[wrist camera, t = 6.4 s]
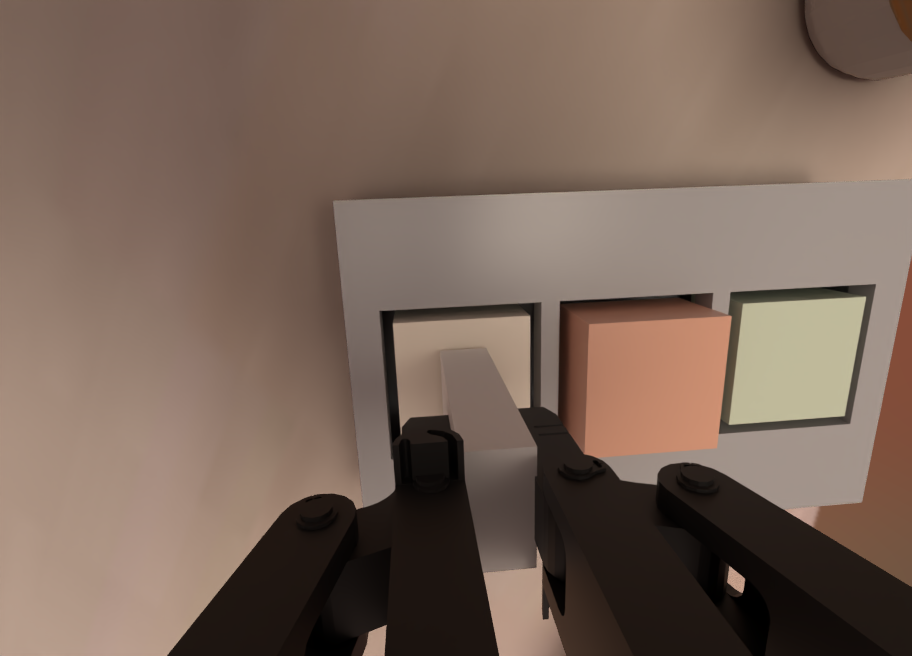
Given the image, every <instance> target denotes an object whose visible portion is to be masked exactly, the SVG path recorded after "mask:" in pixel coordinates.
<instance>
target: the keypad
mask: <svg viewBox="0 0 912 656" xmlns="http://www.w3.org/2000/svg"><path fill="white" fill-rule="evenodd" d="M333 208H334V218H335V228H336V238H337V248H338V259H339V269H340V279H341V289H342V299H343V309H344V319H345V329H346V340H347V350H348V360H349V370H350V380H351V390H352V400H353V410H354V421H355V431H356V441H357V451H358V461H359V471H360V481H361V492H362V502H363V508H364V507H367V506H370V505H373V504H375V503H378V502H380V501H382V500H383V499H385V498H387V497H388V496H389V495H390V494H392V493H393V492H394V490H395V476H394V463H393V450H392V445H393V443H394V441H395V439H396V438H397V437H399V436H400V435H401V430H400V416H399V402H398V388H397V375H396V361H395V347H394V333H393V320H394V314H395V310H407V309H425V308H444V307H462V306H481V305H499V304H518V305H519V306H520V307H521V308H523V309H524V310H525V311H526V312H527V313H528V314H529V315H530V408H532V407H545V408H546V409H548V410H550V411H552V412H553V413H555V414H557V416H558V375H559V319H560V304H570V303H588V302H606V301H625V300H643V299H661V298H681V299H684V300H687V301H690V302H691V296H692V294H696V295H695V304H698V305H701V306H704V307H707V308H710V309H713V310H716V311H719V312H722V313H724V314H727V315H728V312H729V303H730V293H731V292H739V291H757V290H775V289H794V288H812V287H820V288H825V289H830V290H835V291H840V292H845V293H850V294H855V295H860V296H865V297H866V301H865V306H864V312H863V317H862V323H861V328H860V334H859V339H858V345H857V350H856V356H855V361H854V367H853V372H852V378H851V383H850V389H849V394H848V400H847V405H846V411H845V416H839V417H826V418H813V419H800V420H786V421H773V422H760V423H747V424H734V425H728V424H727V423H726V422H724V421H723V420H721V419H720V426H719V435H718V444H717V448H714V449H702V450H689V451H677V452H664V453H651V454H639V455H626V456H614V457H601V458H598V459H600V460H603V461H604V462H605V463H606V464H608V465H609V466H610V467H611V468H612V469H613V471H614V472H615V473H616V475H617V476H618V477H619V479H620V480H623V481H629V482H636V483H646V484H655V485H657V474H658V472H659V471H660V469H661V468H662V467H664V466H667V465H669V464H675V463H682V462H689V463H697V464H700V465H702V466H706V467H710V468H713V469H715V470H717V471H719V472H721V473H723V474H725V475H727V476H729V477H730V478H732V479H734V480H735V481H737V482H739V483H740V484H742V485H744V486H745V487H747V488H749V489H750V490H752V491H754V492H755V493H757V494H758V495H760V496H762V497H763V498H765V499H767V500H768V501H770V502H772V503H773V504H775V505H777V506H778V507H780V508H782V509H794V508H805V507H816V506H826V505H838V504H849V503H860V502H862V499H863V494H864V489H865V484H866V479H867V474H868V469H869V464H870V459H871V454H872V449H873V444H874V439H875V434H876V429H877V424H878V419H879V414H880V409H881V405H882V399H883V395H884V389H885V385H886V380H887V375H888V370H889V365H890V360H891V355H892V350H893V345H894V340H895V335H896V330H897V325H898V320H899V315H900V310H901V305H902V300H903V295H904V290H905V285H906V280H907V275H908V270H909V266H910V260H911V256H912V179H900V180H873V181H846V182H819V183H792V184H765V185H738V186H711V187H684V188H657V189H631V190H604V191H577V192H550V193H523V194H496V195H469V196H442V197H415V198H388V199H361V200H334V201H333Z"/></svg>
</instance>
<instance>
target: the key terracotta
mask: <svg viewBox="0 0 912 656" xmlns="http://www.w3.org/2000/svg"><path fill="white" fill-rule="evenodd" d="M731 318H732V316H730V315H727V314H724V313H722V312H719V311H716V310H713V309H710V308H707V307H704V306H701V305H698V304H695V303H693V302H690V301H687V300H684V299H681V298H661V299H643V300H625V301H606V302H588V303H570V304H560V319H559V375H558V417H559V419H560V420H561V422H562V423H563V426H565V427H566V429H567V430H568V433H569V434H570V435H571V436H572V438H573V439H574V440H575V442H576V443H577V445H578V446H579V448H580V449H581V451H582V452H583V454H585V455H590V456H594V457H596V458H601V457H614V456H626V455H639V454H651V453H664V452H677V451H689V450H702V449H714V448H717V444H718V435H719V426H720V417H721V408H722V399H723V390H724V381H725V372H726V363H727V354H728V345H729V336H730V327H731Z"/></svg>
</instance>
